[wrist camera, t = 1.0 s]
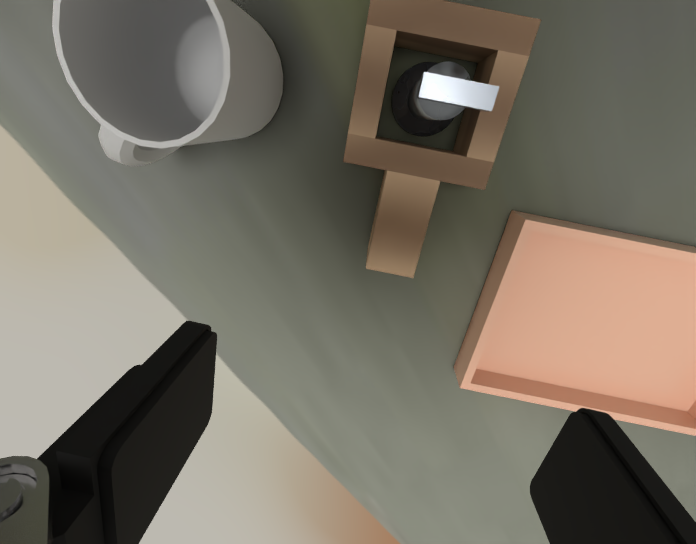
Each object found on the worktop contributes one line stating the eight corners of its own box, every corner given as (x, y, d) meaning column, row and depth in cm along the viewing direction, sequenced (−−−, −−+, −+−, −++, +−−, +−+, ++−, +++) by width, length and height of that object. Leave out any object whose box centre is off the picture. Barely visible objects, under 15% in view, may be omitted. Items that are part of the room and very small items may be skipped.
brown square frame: (374, 11, 20) (372, -14, 17) (512, 38, 20) (541, 19, 17) (334, 240, 26) (326, 260, 22) (442, 262, 26) (452, 286, 22)
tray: (511, 210, 24) (525, 219, 22) (794, 266, 24) (838, 282, 22) (453, 366, 29) (459, 388, 27) (685, 414, 29) (711, 439, 27)
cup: (309, 75, 22) (267, 48, 14) (216, 191, 25) (137, 225, 17) (216, -24, 20) (106, -121, 12) (129, 114, 24) (-3, 110, 16)
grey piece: (400, 57, 21) (411, 21, 13) (466, 70, 21) (516, 41, 13) (385, 129, 23) (388, 133, 15) (447, 141, 23) (481, 151, 15)
